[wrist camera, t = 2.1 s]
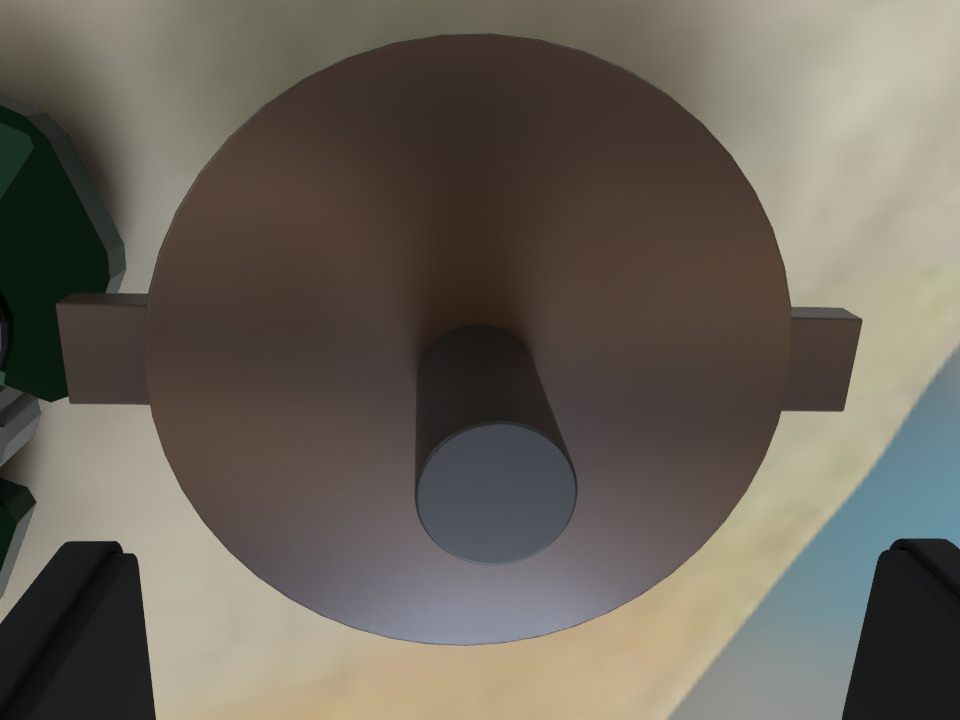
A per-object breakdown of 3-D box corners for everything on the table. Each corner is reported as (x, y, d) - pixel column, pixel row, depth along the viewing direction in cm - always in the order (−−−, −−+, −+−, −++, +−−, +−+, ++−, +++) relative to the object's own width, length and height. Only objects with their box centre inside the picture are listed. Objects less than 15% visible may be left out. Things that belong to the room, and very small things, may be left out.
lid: (127, 19, 16) (-48, -12, 10) (821, 51, 17) (1035, 40, 11) (187, 618, 20) (93, 838, 14) (725, 612, 21) (838, 815, 16)
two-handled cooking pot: (127, 50, 22) (-2, 41, 15) (787, 78, 23) (933, 81, 16) (170, 479, 26) (85, 618, 19) (723, 481, 27) (818, 610, 21)
